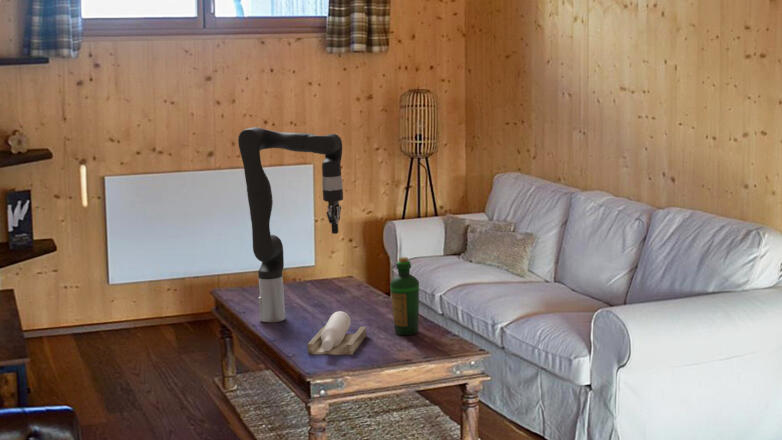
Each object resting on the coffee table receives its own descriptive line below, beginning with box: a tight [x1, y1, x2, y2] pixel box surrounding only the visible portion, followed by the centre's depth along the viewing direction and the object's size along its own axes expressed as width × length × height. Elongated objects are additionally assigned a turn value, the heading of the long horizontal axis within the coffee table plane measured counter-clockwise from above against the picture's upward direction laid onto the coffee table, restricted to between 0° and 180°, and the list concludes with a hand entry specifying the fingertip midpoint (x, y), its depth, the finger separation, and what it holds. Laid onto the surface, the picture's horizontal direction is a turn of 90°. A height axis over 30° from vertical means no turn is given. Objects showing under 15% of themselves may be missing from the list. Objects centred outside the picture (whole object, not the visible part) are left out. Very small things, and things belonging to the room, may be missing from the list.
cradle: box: [307, 325, 368, 356], centre depth 386 cm, size 16×22×4 cm
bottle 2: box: [389, 256, 420, 336], centre depth 395 cm, size 11×11×28 cm
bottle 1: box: [321, 310, 352, 351], centre depth 385 cm, size 8×8×30 cm
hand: (335, 233), depth 408 cm, fingers closed
